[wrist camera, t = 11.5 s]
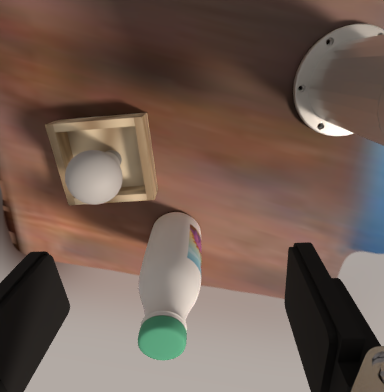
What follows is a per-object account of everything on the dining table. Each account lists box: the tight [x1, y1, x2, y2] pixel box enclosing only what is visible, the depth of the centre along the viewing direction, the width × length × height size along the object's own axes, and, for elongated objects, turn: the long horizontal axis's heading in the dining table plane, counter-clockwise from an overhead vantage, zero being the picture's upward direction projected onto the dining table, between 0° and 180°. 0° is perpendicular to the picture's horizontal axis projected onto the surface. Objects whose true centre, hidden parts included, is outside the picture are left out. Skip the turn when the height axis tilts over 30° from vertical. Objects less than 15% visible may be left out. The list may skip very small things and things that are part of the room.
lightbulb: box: [65, 150, 123, 205], centre depth 34 cm, size 6×6×11 cm
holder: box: [45, 113, 158, 205], centre depth 37 cm, size 12×11×4 cm
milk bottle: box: [138, 212, 201, 360], centre depth 35 cm, size 8×8×20 cm
